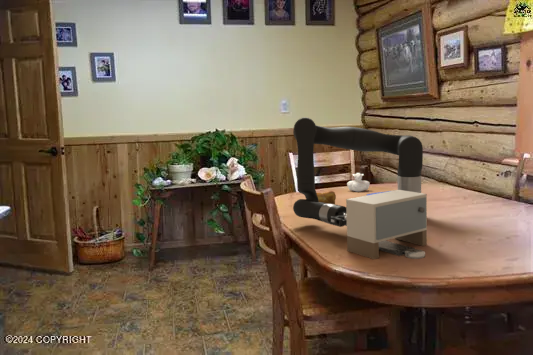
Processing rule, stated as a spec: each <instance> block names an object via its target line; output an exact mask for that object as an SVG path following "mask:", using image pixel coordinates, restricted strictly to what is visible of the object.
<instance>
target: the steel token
mask: <svg viewBox="0 0 533 355" xmlns="http://www.w3.org/2000/svg"><path fill="white" fill-rule="evenodd" d="M404 256H405V258H408V259H411V260H414V259H416V260H417V259H418V260H419V259H423V258H425V257H426V251H424V250H422V249H416V248H415V249H409V250H406V251H405V254H404Z"/></svg>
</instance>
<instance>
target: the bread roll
mask: <svg viewBox="0 0 533 355" xmlns="http://www.w3.org/2000/svg"><path fill="white" fill-rule="evenodd" d="M316 193H317V197H318V200H319V202H322V203H327V204H335V205H336V199H337V195H336V192H335V191H332V190H330V191H326V192H325V191H324V192H322V193H321V192H316Z"/></svg>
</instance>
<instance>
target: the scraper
mask: <svg viewBox="0 0 533 355" xmlns="http://www.w3.org/2000/svg"><path fill="white" fill-rule="evenodd" d="M409 249H416V248H415V247H412V246H408V245H404V244H400V243H396V242H391V241H389V240H385V241H381V242H379V251H382V252H384V253H389V254H392V255H395V256H398V257H399V256H405V251H406V250H409Z"/></svg>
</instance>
